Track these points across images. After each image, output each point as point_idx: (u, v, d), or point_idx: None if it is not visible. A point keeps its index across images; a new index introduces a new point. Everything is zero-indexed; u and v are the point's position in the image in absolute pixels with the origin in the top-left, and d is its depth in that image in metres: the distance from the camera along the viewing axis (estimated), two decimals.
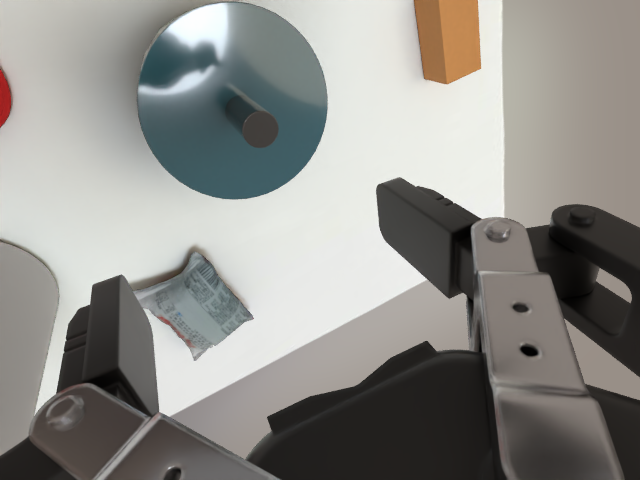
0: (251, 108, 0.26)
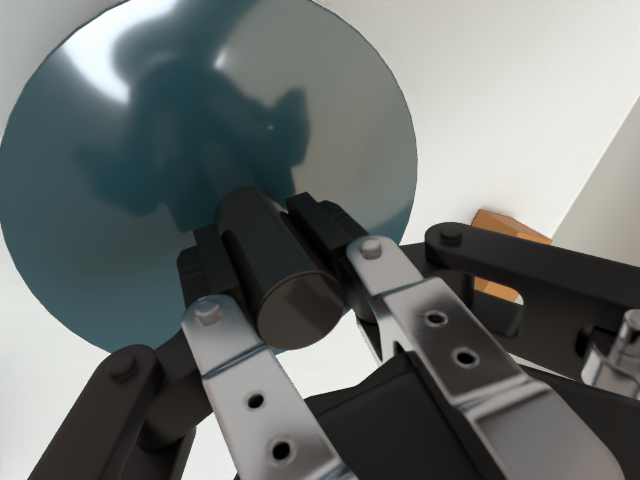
0: (308, 252, 0.10)
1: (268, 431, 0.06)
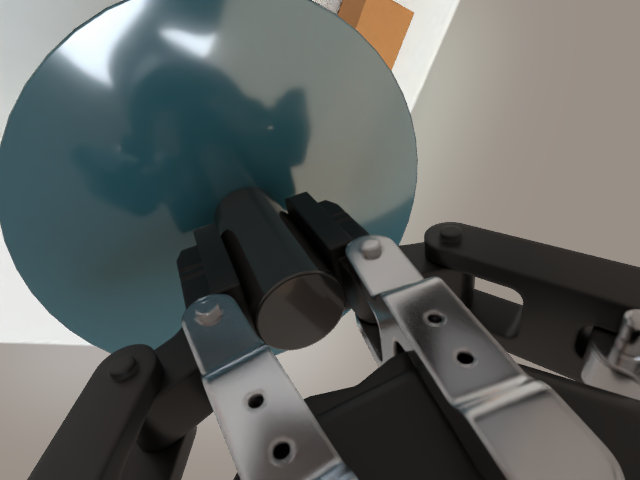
0: (308, 252, 0.10)
1: (268, 431, 0.06)
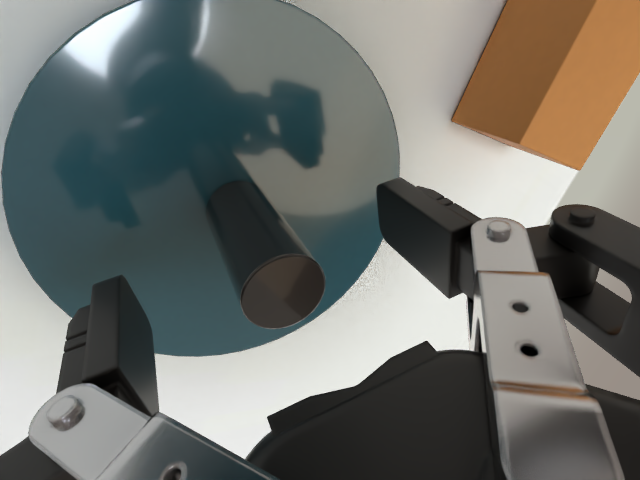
0: (290, 238, 0.11)
1: None
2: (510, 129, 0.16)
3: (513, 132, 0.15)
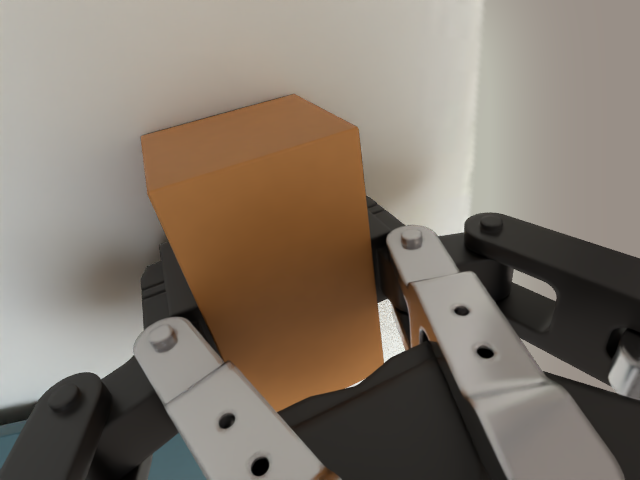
0: None
1: (244, 449, 0.05)
2: None
3: None
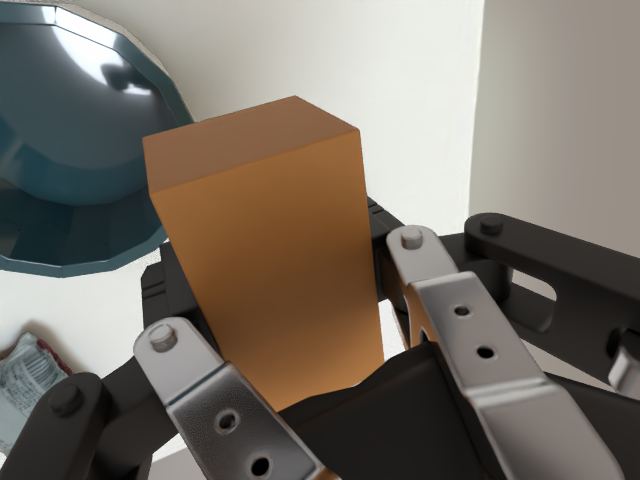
0: None
1: (244, 449, 0.05)
2: None
3: None
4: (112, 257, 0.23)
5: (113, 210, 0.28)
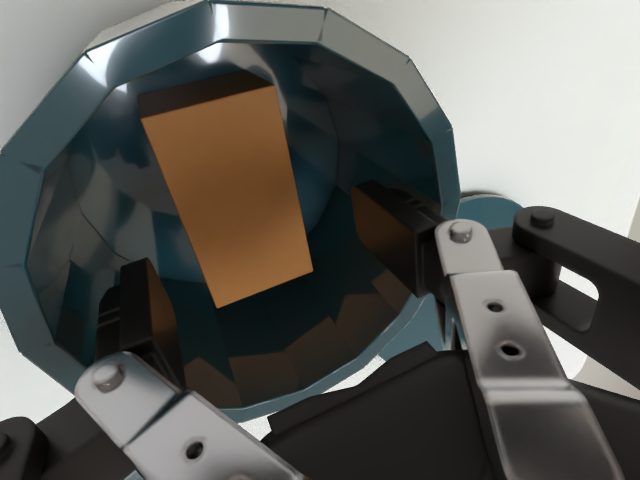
0: None
1: (218, 475, 0.05)
2: None
3: None
4: (308, 385, 0.15)
5: None
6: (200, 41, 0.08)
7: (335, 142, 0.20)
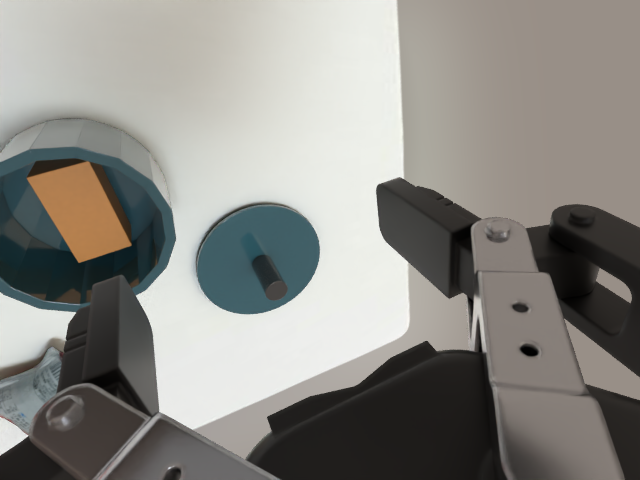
0: (272, 276, 0.41)
1: None
2: None
3: None
4: None
5: (115, 256, 0.37)
6: (28, 161, 0.26)
7: None
